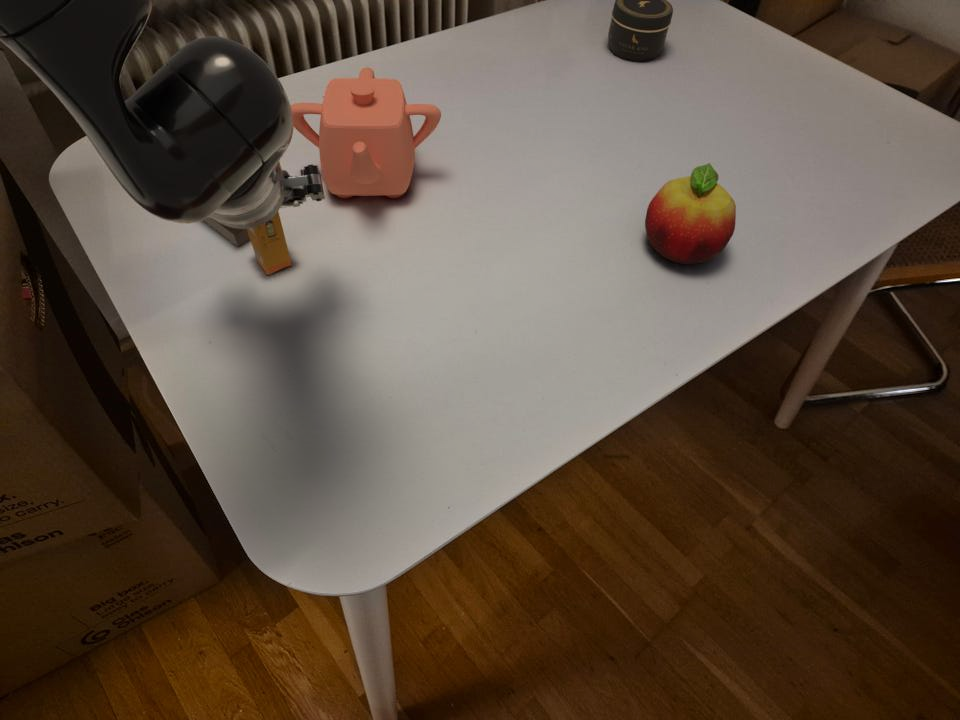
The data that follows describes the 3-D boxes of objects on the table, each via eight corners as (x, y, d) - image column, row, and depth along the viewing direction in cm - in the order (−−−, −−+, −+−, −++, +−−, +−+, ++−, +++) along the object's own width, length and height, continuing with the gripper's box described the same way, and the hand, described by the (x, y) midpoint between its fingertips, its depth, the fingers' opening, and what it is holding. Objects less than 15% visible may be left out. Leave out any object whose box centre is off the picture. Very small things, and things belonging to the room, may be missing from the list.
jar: (602, 58, 115) (611, 12, 109) (608, 31, 121) (617, -14, 115) (660, 67, 114) (673, 22, 108) (663, 40, 120) (675, -4, 114)
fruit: (627, 260, 84) (647, 195, 76) (649, 210, 90) (670, 146, 82) (711, 288, 81) (741, 225, 73) (728, 235, 88) (757, 172, 80)
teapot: (369, 130, 98) (361, 41, 87) (452, 175, 92) (454, 86, 82) (281, 183, 89) (261, 92, 79) (367, 236, 84) (357, 145, 73)
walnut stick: (238, 247, 81) (234, 234, 80) (170, 196, 86) (165, 183, 85) (254, 237, 82) (250, 225, 81) (186, 187, 87) (181, 175, 86)
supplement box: (280, 249, 81) (263, 181, 73) (292, 266, 80) (277, 199, 72) (254, 259, 80) (235, 192, 72) (266, 276, 78) (248, 209, 70)
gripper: (315, 120, 55) (315, 157, 70) (128, 139, 52) (172, 173, 67) (332, 212, 56) (328, 228, 71) (150, 236, 53) (188, 247, 68)
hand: (253, 201), depth 69 cm, fingers open, 8 cm apart
